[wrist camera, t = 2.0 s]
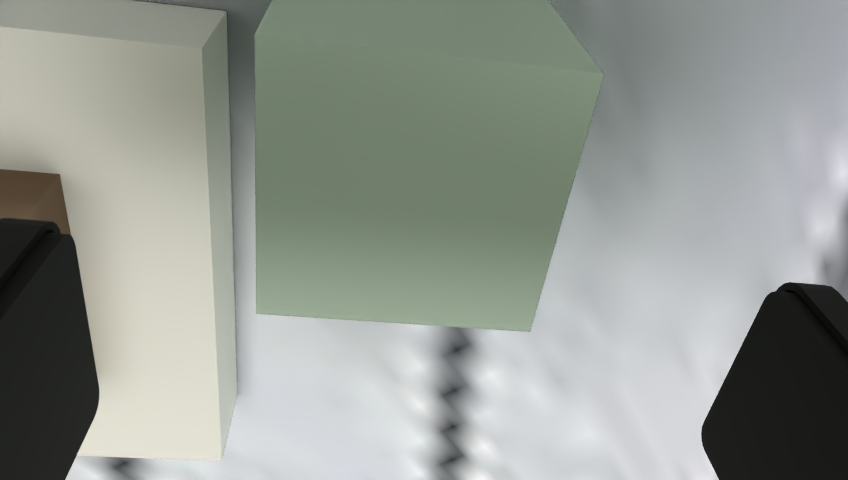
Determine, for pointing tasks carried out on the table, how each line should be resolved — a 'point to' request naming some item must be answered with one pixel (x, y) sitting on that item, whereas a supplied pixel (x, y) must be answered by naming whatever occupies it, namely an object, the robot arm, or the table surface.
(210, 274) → the base slab
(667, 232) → the table surface
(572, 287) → the table surface
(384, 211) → the sage block
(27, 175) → the walnut block
